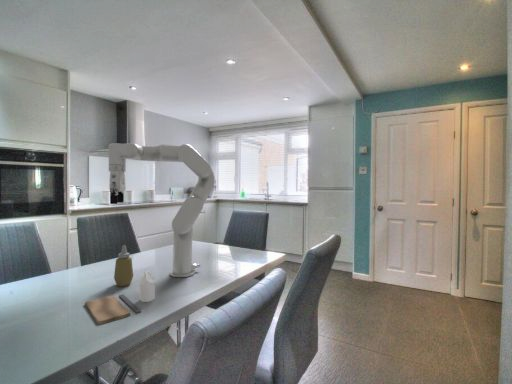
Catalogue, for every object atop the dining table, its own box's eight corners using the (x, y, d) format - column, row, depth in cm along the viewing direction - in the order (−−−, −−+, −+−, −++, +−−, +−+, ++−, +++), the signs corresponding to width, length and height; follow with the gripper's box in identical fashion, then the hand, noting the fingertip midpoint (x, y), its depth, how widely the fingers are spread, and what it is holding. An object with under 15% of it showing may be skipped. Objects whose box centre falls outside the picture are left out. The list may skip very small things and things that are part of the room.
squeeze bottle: (137, 282, 131) (137, 244, 131) (123, 288, 123) (124, 248, 123) (123, 280, 134) (123, 243, 133) (109, 286, 126) (109, 246, 126)
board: (113, 297, 114) (113, 295, 114) (130, 315, 99) (130, 312, 99) (85, 304, 107) (85, 302, 107) (98, 324, 92) (98, 321, 92)
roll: (152, 272, 110) (137, 272, 109) (152, 302, 110) (137, 302, 110) (156, 267, 116) (142, 267, 115) (156, 296, 116) (142, 296, 116)
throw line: (123, 295, 116) (123, 294, 116) (141, 312, 101) (141, 310, 101) (119, 296, 115) (119, 295, 115) (136, 313, 100) (136, 312, 100)
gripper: (119, 167, 130) (119, 204, 131) (130, 169, 147) (129, 202, 148) (102, 167, 129) (102, 204, 129) (114, 169, 146) (114, 201, 147)
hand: (117, 203), depth 139 cm, fingers open, 9 cm apart
